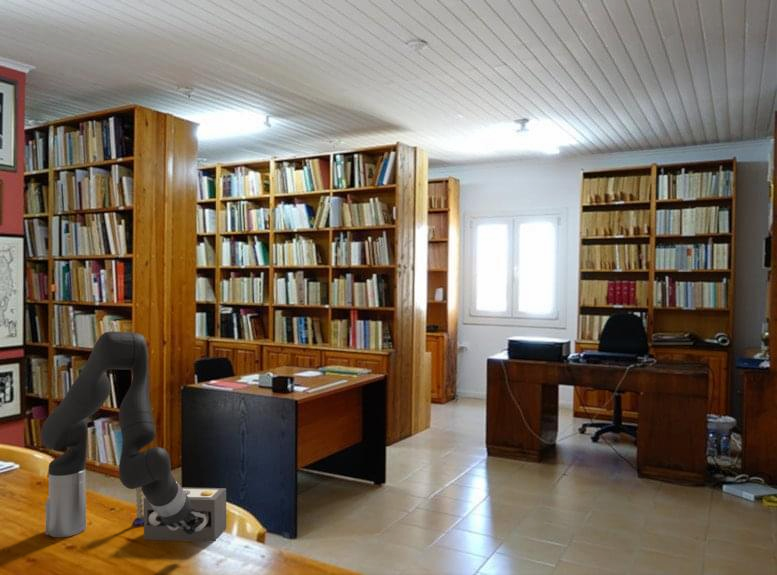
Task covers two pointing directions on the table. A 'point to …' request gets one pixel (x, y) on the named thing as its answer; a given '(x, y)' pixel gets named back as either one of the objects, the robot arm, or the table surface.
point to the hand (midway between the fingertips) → (191, 530)
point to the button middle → (172, 528)
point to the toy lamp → (139, 508)
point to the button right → (206, 519)
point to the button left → (153, 519)
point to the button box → (200, 501)
